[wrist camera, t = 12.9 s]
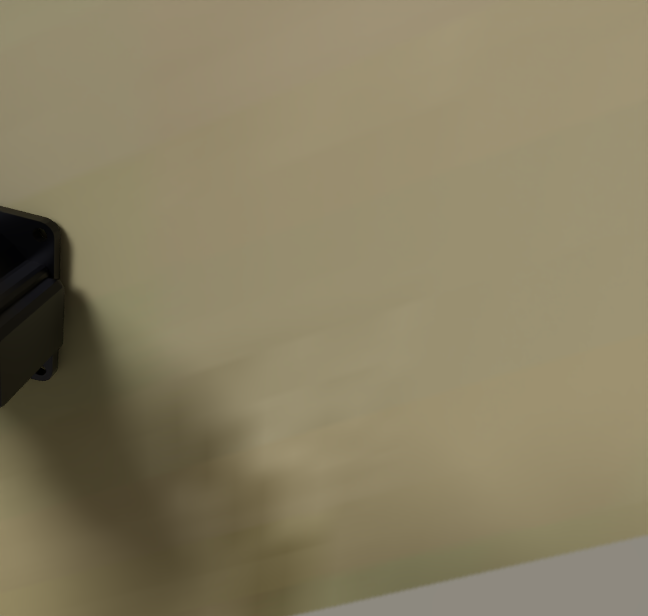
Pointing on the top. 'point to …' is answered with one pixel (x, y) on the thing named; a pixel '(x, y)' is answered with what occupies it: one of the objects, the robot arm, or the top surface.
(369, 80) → the top surface
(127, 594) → the top surface
